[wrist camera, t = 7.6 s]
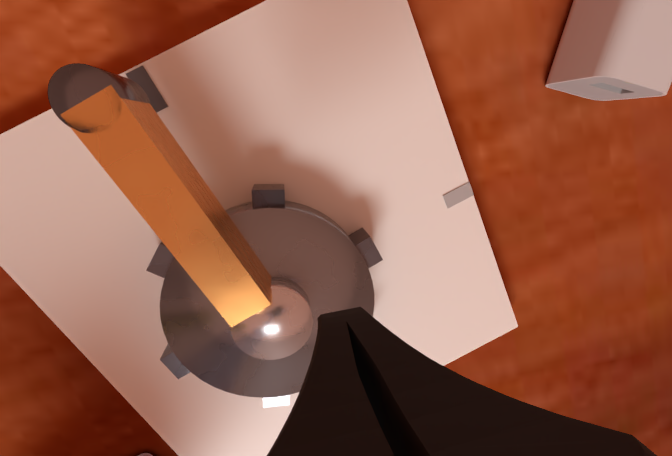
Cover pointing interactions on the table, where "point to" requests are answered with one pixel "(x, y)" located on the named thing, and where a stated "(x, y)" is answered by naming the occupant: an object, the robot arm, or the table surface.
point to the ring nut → (219, 248)
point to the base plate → (236, 188)
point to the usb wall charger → (615, 50)
